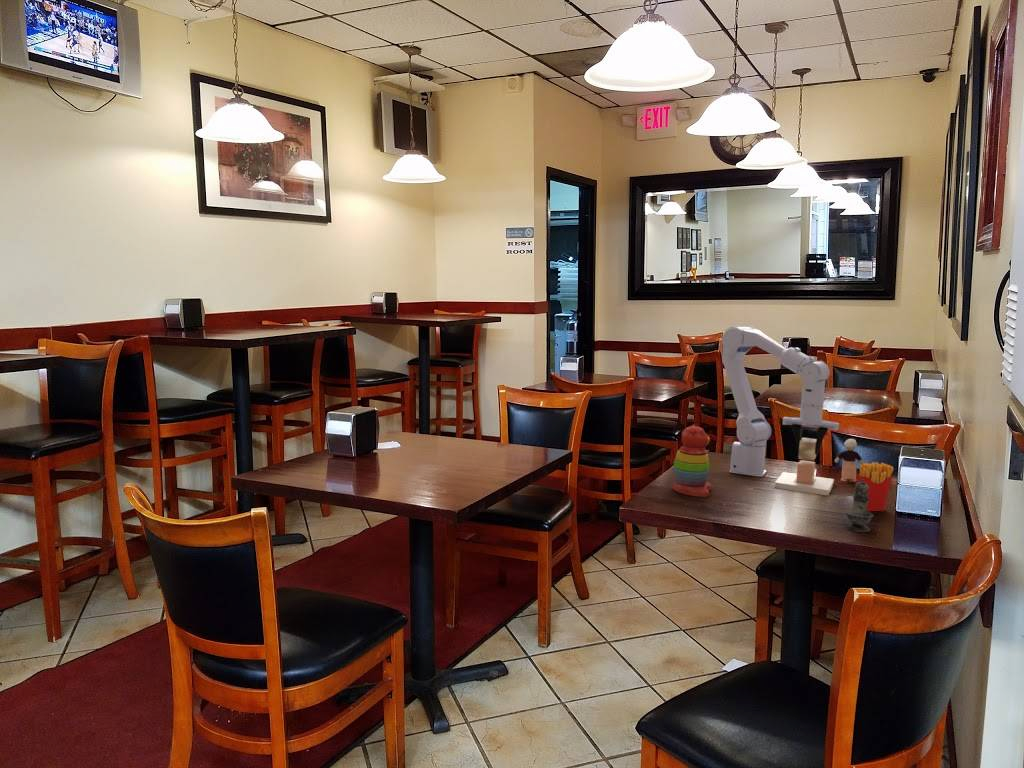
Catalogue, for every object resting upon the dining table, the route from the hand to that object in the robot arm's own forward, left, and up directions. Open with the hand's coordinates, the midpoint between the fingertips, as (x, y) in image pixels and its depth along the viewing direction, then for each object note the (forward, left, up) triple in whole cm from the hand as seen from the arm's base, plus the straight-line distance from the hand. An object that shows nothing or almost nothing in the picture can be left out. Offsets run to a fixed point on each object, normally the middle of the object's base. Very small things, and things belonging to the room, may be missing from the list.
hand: (807, 452), depth 216 cm
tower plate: (0, 0, -10) cm, 10 cm away
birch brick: (0, 0, -2) cm, 2 cm away
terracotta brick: (0, 0, -8) cm, 8 cm away
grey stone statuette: (+16, -33, -10) cm, 38 cm away
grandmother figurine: (+10, +13, -10) cm, 19 cm away
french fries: (+18, -14, -10) cm, 25 cm away
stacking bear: (-26, -24, -10) cm, 37 cm away
